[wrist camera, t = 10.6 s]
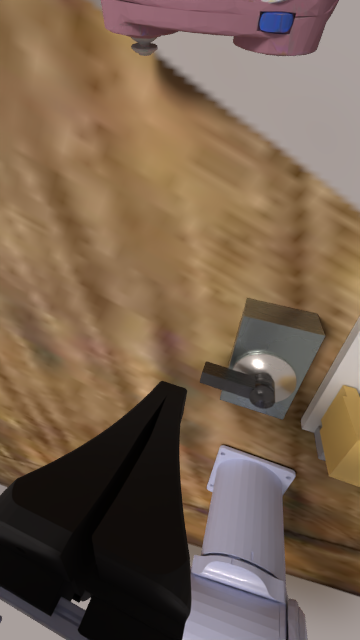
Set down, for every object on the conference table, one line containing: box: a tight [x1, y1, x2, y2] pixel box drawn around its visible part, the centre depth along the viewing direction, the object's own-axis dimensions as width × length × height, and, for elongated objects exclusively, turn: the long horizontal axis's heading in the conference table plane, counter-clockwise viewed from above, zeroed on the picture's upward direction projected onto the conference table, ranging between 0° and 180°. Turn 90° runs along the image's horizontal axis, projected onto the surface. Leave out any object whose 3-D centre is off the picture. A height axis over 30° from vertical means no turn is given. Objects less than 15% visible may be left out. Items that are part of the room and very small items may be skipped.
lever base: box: [220, 298, 325, 420], centre depth 19 cm, size 8×5×3 cm, turn 174°
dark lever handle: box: [200, 361, 275, 409], centre depth 17 cm, size 5×2×2 cm, turn 82°
